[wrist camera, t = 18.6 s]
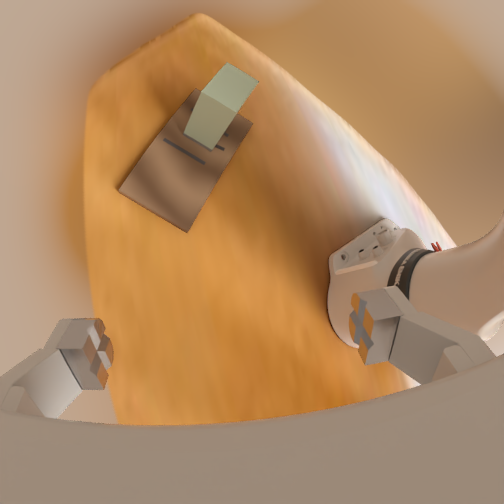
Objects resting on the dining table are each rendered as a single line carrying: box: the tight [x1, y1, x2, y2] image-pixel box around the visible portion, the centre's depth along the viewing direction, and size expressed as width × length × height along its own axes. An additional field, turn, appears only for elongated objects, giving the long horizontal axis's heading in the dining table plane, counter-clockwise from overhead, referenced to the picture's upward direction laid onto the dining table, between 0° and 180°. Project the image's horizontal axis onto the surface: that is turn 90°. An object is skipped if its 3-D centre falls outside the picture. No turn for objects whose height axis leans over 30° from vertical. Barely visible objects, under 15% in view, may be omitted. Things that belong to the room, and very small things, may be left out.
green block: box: [183, 62, 259, 152], centre depth 37 cm, size 6×4×10 cm
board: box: [119, 89, 253, 233], centre depth 41 cm, size 19×10×1 cm, turn 154°
